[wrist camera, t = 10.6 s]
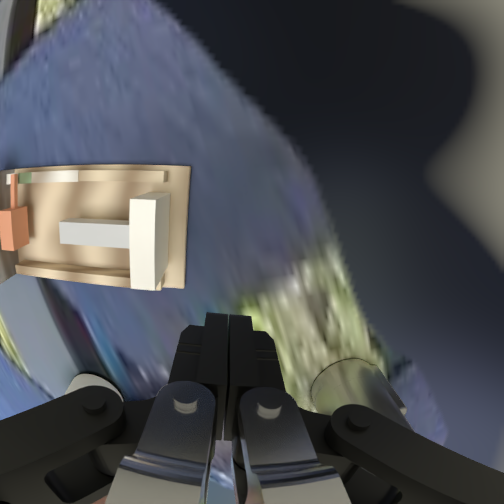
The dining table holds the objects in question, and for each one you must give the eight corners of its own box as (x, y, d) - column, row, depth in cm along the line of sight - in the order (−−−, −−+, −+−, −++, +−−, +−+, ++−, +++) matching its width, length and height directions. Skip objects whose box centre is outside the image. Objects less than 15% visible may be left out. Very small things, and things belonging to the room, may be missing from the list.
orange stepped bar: (27, 172, 22) (10, 174, 19) (29, 243, 24) (14, 251, 21) (14, 173, 22) (-2, 175, 19) (17, 242, 24) (1, 249, 21)
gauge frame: (191, 166, 27) (175, 165, 18) (185, 284, 30) (171, 329, 21) (3, 170, 24) (-47, 177, 15) (9, 265, 27) (-34, 293, 18)
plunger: (170, 192, 26) (155, 199, 20) (167, 265, 27) (154, 290, 22) (75, 190, 24) (43, 197, 19) (77, 258, 26) (49, 278, 21)
